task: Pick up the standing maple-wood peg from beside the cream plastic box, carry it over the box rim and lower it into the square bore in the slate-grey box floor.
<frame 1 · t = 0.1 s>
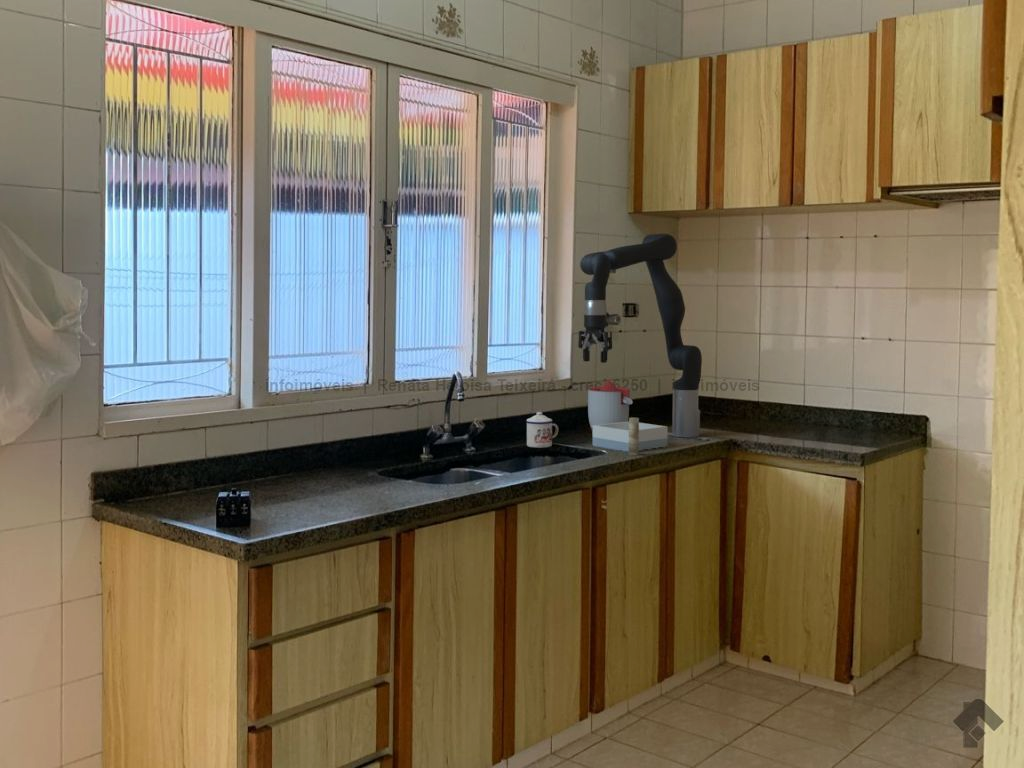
hand: (594, 361, 349), 29 cm above the worktop, fingers open, 8 cm apart
peg: (633, 454, 337), on the worktop
teacup with lid: (543, 446, 357), on the worktop
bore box: (629, 446, 355), on the worktop
citrus juicer: (610, 434, 385), on the worktop
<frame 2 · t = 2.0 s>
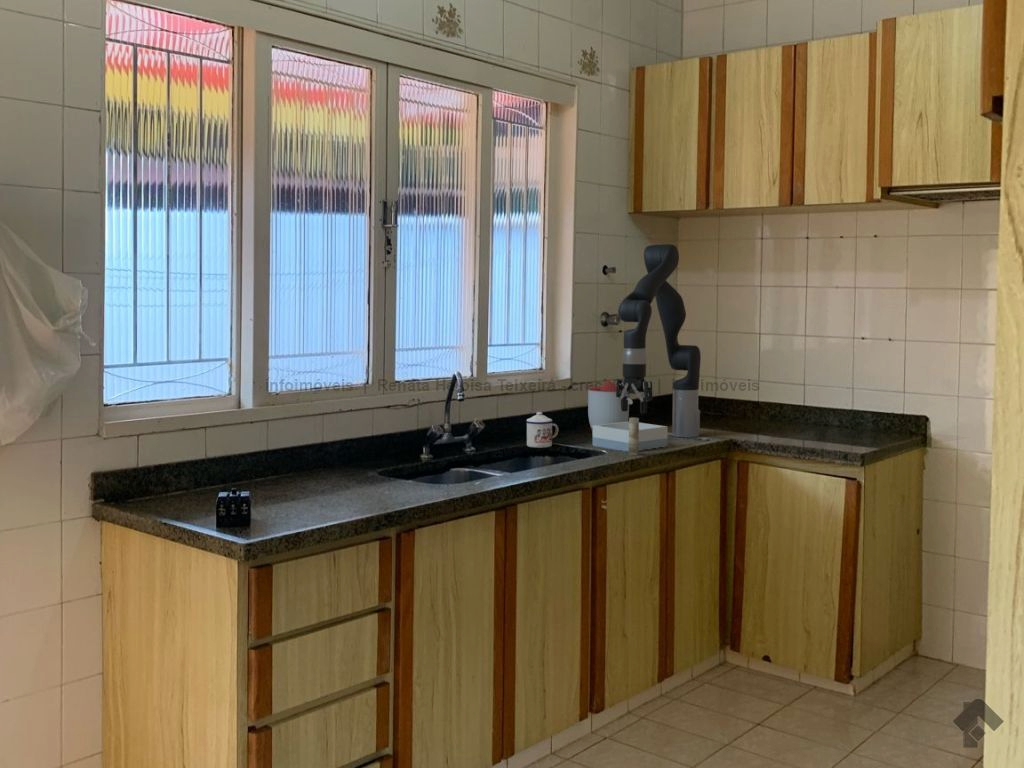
hand: (633, 412, 335), 14 cm above the worktop, fingers open, 8 cm apart
nothing on the worktop moved.
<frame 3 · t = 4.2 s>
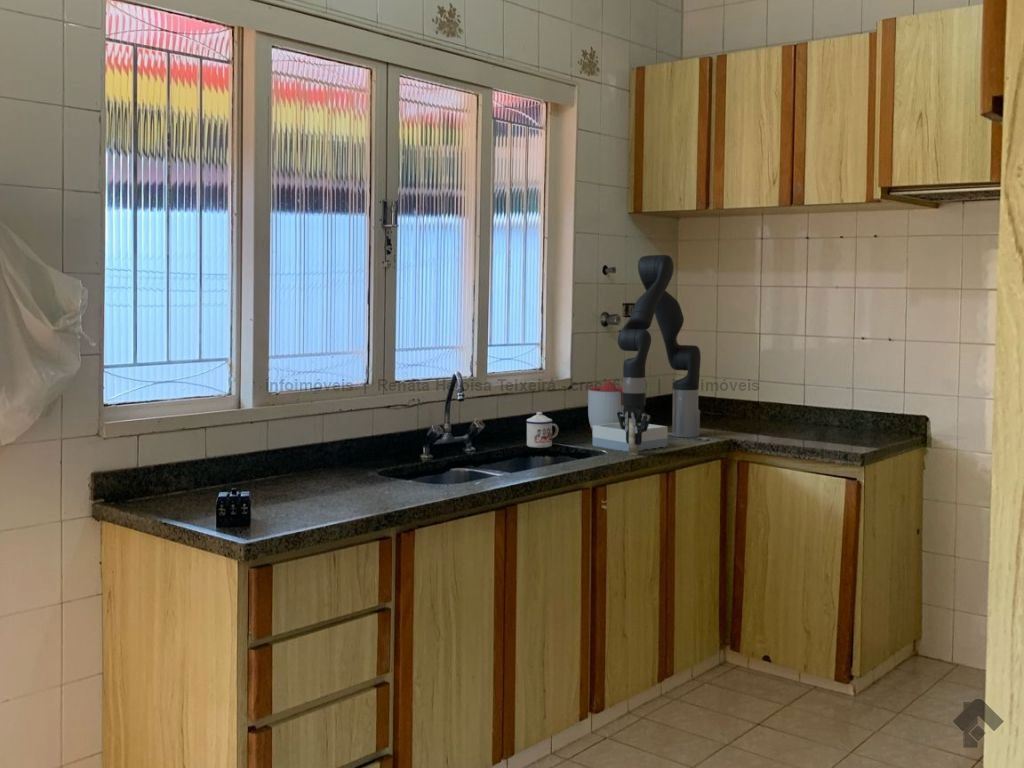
hand: (633, 443, 336), 4 cm above the worktop, fingers closed on peg, 3 cm apart
peg: (633, 454, 337), on the worktop, touching gripper
everything else where it was.
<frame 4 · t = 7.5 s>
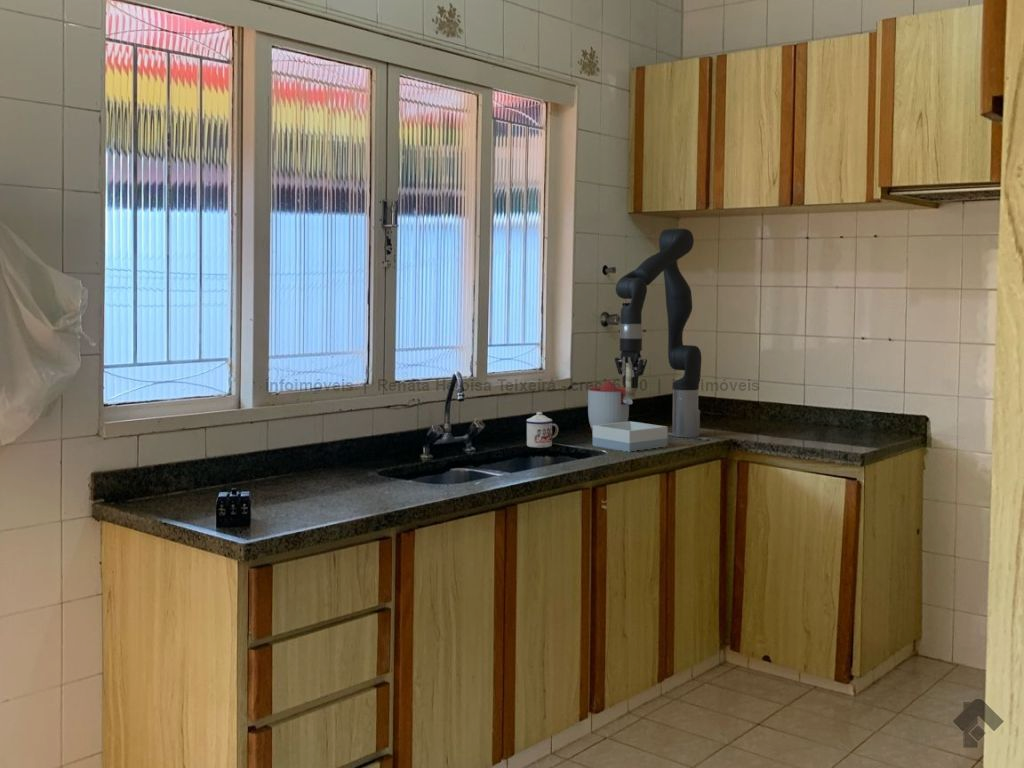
hand: (630, 387, 353), 20 cm above the worktop, fingers closed on peg, 3 cm apart
peg: (630, 398, 353), point 17 cm above the worktop, touching gripper
everything else where it was.
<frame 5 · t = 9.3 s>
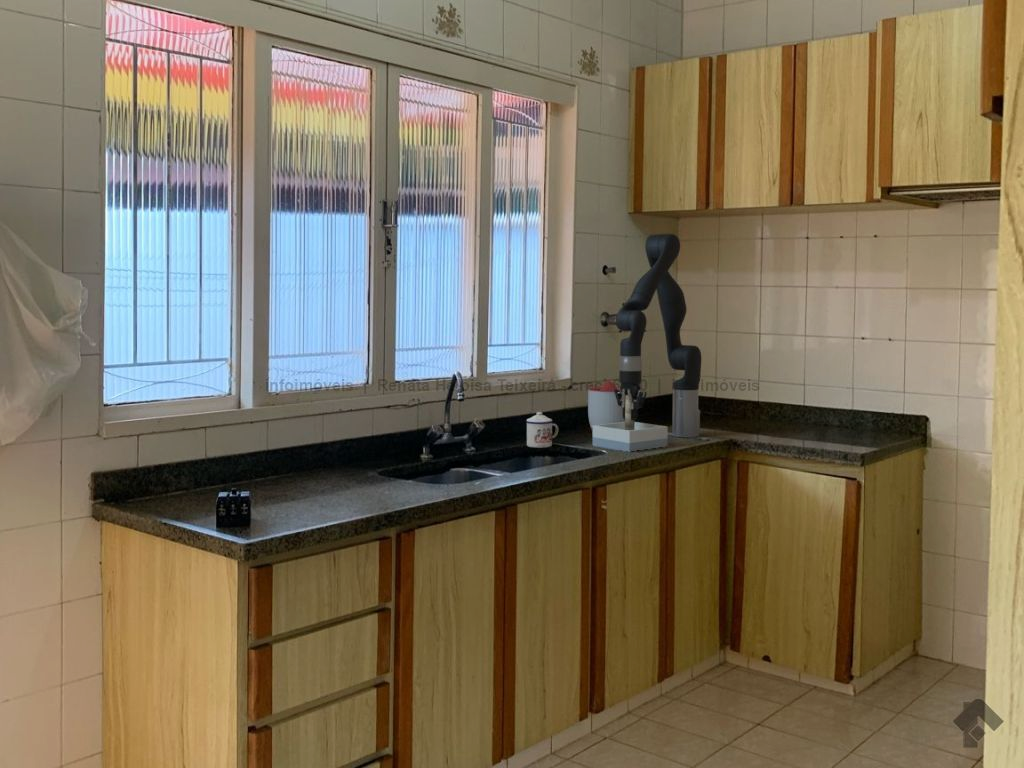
hand: (629, 419, 354), 9 cm above the worktop, fingers closed on peg, 3 cm apart
peg: (629, 429, 354), point 6 cm above the worktop, touching gripper
everything else where it was.
when the fingers open (5 cm above the worktop, at t = 10.9 s): peg stays where it is, resting in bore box.
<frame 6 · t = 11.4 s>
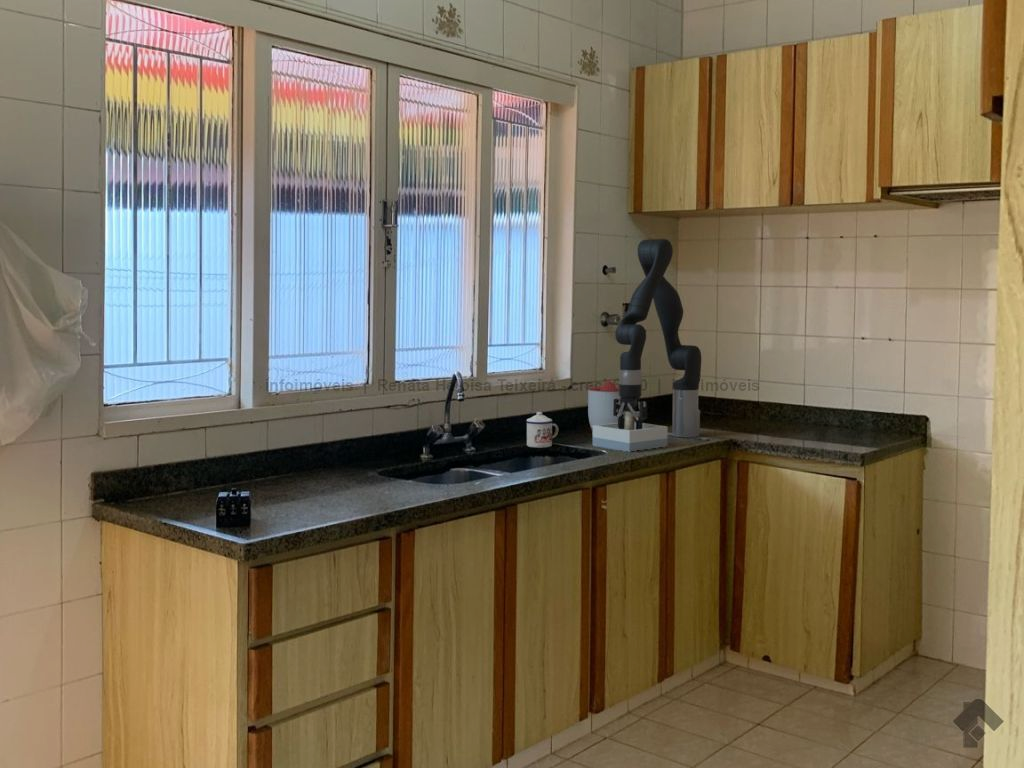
hand: (629, 430, 354), 6 cm above the worktop, fingers open, 8 cm apart
peg: (629, 446, 355), resting in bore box
everything else where it was.
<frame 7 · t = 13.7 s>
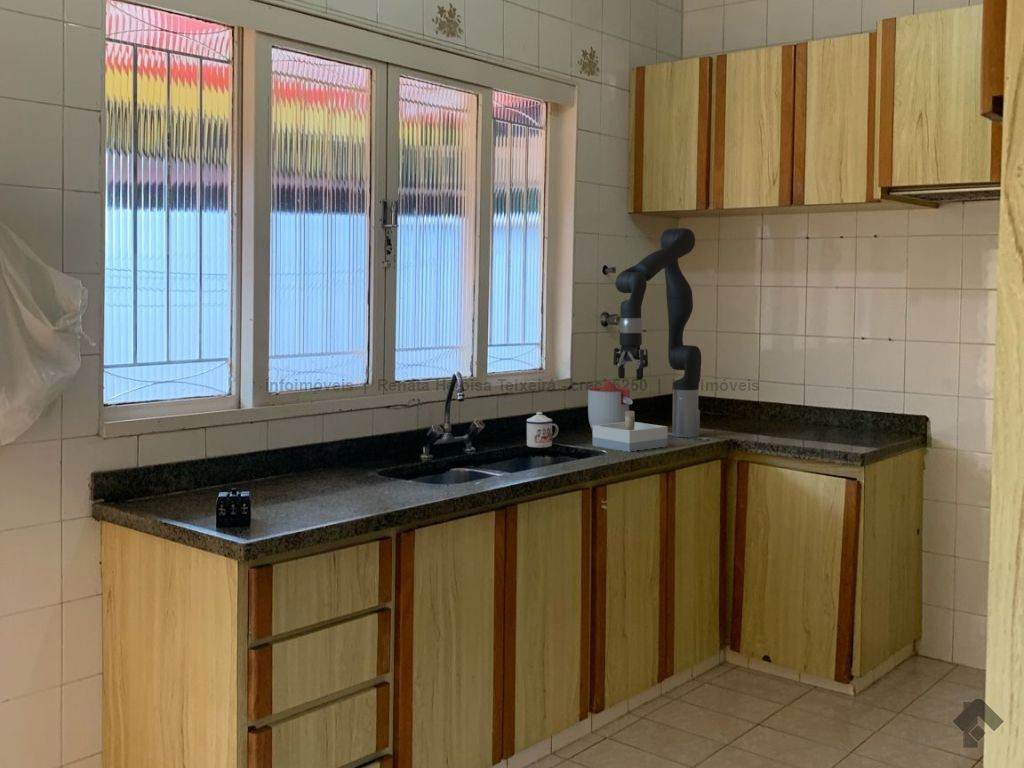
hand: (630, 379, 353), 23 cm above the worktop, fingers open, 8 cm apart
nothing on the worktop moved.
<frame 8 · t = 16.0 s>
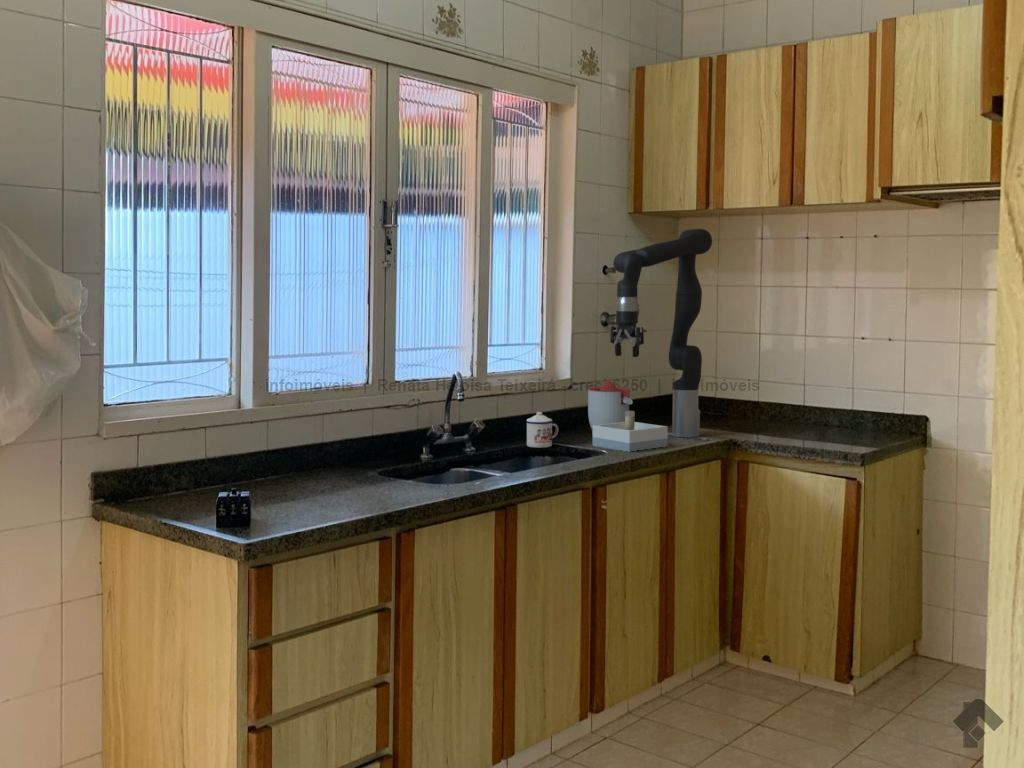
hand: (626, 356, 364), 30 cm above the worktop, fingers open, 8 cm apart
nothing on the worktop moved.
at the end: peg 0.1 cm off-centre on the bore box, point 0.0 cm above the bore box's base; peg tilted 0°; the gripper is holding nothing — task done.
